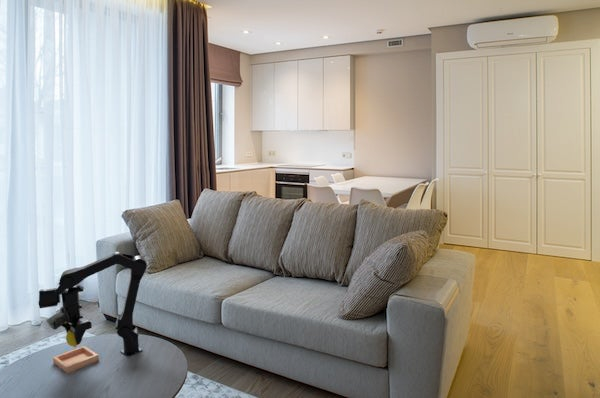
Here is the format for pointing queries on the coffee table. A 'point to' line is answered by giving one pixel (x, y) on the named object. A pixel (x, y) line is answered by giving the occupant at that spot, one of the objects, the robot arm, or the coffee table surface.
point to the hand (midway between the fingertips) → (74, 342)
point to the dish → (75, 359)
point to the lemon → (71, 339)
